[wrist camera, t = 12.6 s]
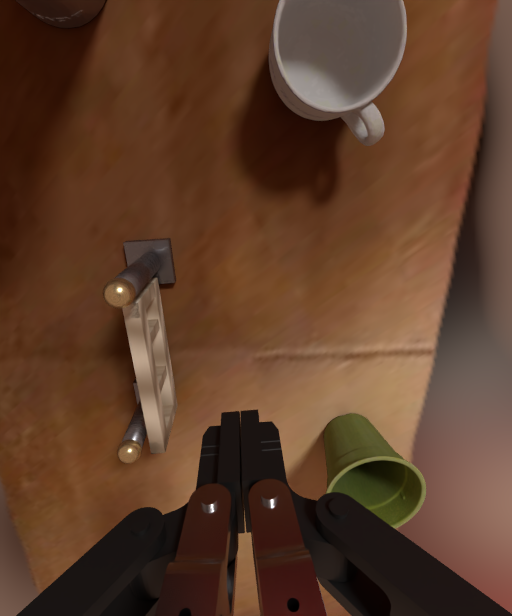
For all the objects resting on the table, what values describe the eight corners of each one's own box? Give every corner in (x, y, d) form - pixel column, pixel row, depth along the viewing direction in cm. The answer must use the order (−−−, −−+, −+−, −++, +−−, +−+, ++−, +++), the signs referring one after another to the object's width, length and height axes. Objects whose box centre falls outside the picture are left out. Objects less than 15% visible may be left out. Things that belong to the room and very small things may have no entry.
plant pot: (396, 400, 50) (439, 460, 39) (377, 465, 54) (411, 536, 43) (314, 395, 49) (335, 455, 38) (301, 462, 53) (317, 533, 42)
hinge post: (125, 241, 40) (75, 270, 27) (170, 238, 40) (140, 266, 28) (133, 283, 42) (90, 328, 29) (176, 280, 42) (150, 324, 29)
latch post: (135, 379, 46) (102, 445, 35) (165, 376, 46) (142, 442, 35) (140, 404, 48) (110, 476, 36) (170, 402, 48) (149, 473, 36)
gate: (144, 278, 40) (121, 303, 32) (157, 277, 40) (137, 302, 32) (166, 406, 46) (151, 453, 38) (177, 405, 46) (165, 452, 38)
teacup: (249, 25, 34) (253, -19, 26) (358, -22, 33) (395, -81, 25) (294, 172, 38) (308, 171, 31) (390, 134, 38) (428, 124, 30)
